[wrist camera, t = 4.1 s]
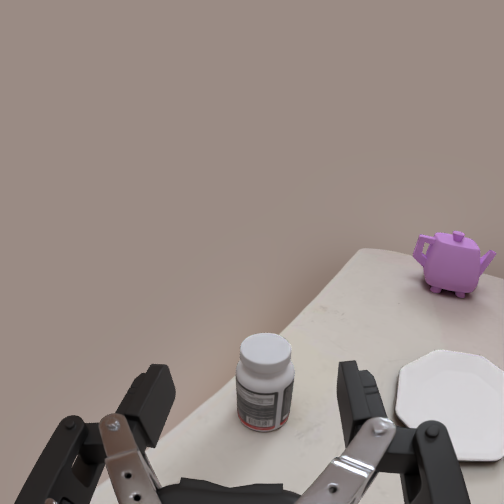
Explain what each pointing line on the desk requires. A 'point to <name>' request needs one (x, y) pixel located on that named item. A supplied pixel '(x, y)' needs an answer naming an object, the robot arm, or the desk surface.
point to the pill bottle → (264, 381)
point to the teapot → (451, 262)
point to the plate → (456, 401)
